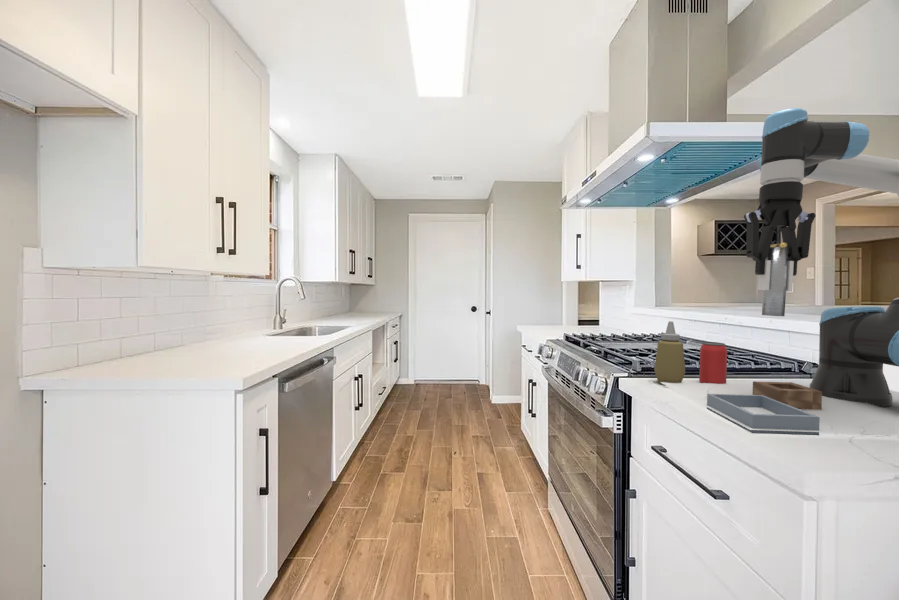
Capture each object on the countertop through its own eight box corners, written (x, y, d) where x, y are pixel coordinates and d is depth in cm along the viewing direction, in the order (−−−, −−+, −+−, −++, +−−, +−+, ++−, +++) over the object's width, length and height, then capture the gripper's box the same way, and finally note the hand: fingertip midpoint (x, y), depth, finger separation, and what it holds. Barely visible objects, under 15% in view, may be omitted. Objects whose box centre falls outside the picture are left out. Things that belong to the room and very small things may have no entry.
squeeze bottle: (666, 379, 127) (668, 320, 126) (691, 385, 119) (693, 322, 119) (647, 381, 123) (649, 320, 123) (672, 387, 116) (673, 323, 115)
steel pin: (773, 315, 96) (777, 245, 95) (790, 316, 90) (795, 242, 90) (755, 314, 96) (759, 245, 96) (770, 315, 91) (774, 242, 90)
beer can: (730, 387, 116) (731, 345, 116) (704, 386, 118) (705, 344, 117) (720, 382, 123) (721, 342, 123) (695, 381, 124) (696, 341, 124)
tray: (762, 410, 95) (762, 395, 95) (818, 435, 79) (819, 416, 79) (706, 408, 96) (707, 393, 95) (752, 433, 80) (752, 414, 80)
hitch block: (791, 402, 101) (791, 382, 101) (821, 414, 92) (822, 391, 92) (752, 401, 102) (752, 381, 102) (778, 412, 93) (779, 390, 93)
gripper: (810, 188, 95) (803, 291, 95) (730, 187, 97) (724, 288, 97) (837, 180, 87) (829, 291, 88) (749, 179, 89) (743, 289, 90)
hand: (774, 290), depth 93 cm, fingers closed on steel pin, 4 cm apart
